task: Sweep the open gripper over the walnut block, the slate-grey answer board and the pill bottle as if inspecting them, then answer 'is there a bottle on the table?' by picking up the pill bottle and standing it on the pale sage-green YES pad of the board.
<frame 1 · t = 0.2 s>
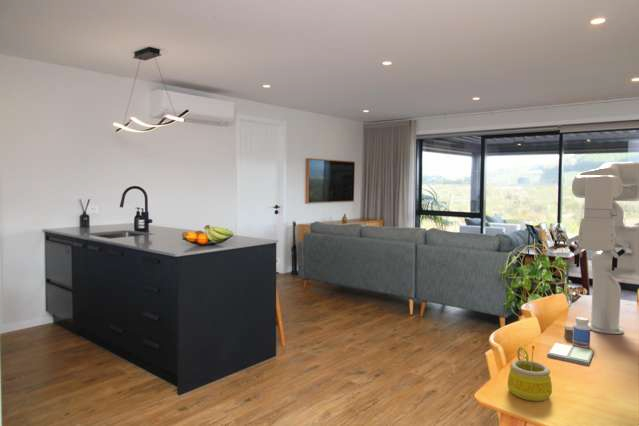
hand: (595, 268, 146), 31 cm above the table, fingers open, 9 cm apart
walnut block: (570, 338, 172), on the table
answer board: (570, 354, 155), on the table
pill bottle: (581, 345, 164), on the table
yellow-green planter pot: (529, 394, 125), on the table
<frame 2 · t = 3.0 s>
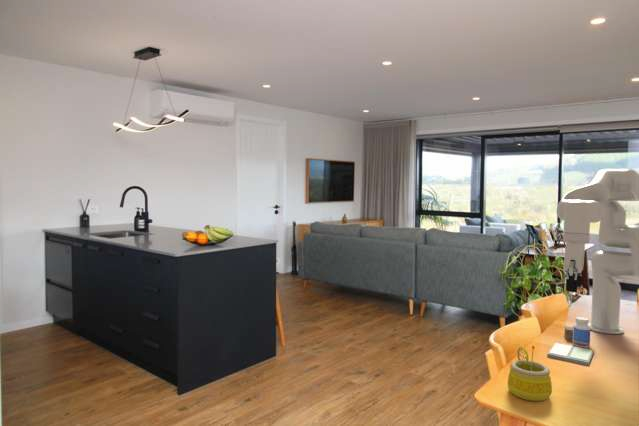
hand: (573, 289, 154), 22 cm above the table, fingers open, 9 cm apart
nothing on the table moved.
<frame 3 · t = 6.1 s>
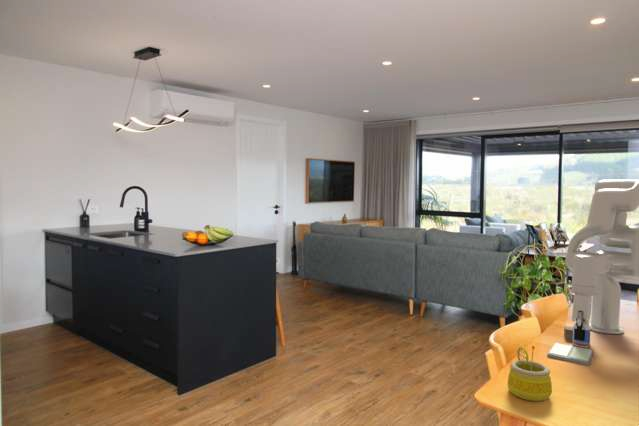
hand: (581, 336, 164), 3 cm above the table, fingers open, 9 cm apart
nothing on the table moved.
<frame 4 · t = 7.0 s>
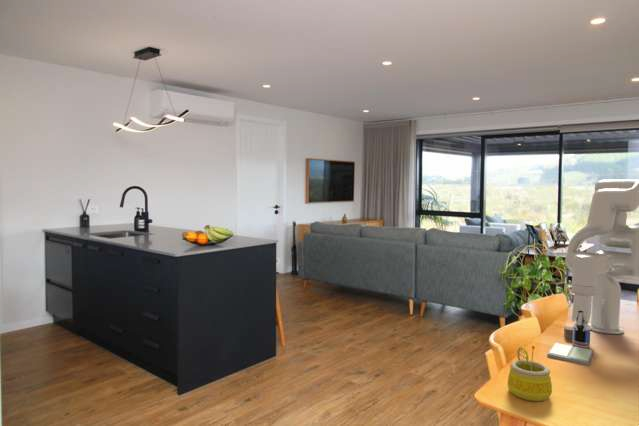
hand: (581, 338, 164), 2 cm above the table, fingers closed on pill bottle, 5 cm apart
pill bottle: (580, 345, 164), on the table, touching gripper
everything else where it was.
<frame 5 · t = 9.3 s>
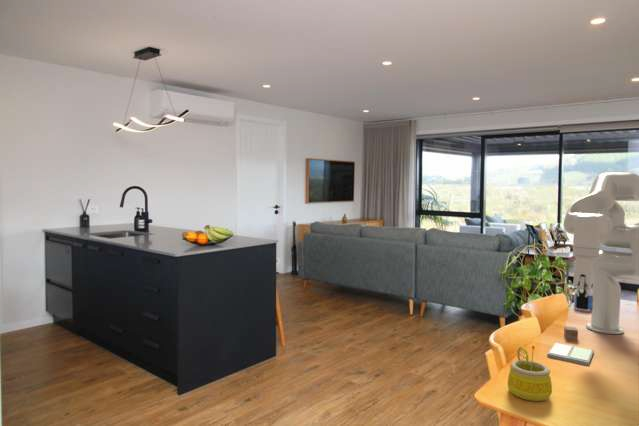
hand: (583, 306, 152), 17 cm above the table, fingers closed on pill bottle, 5 cm apart
pill bottle: (582, 313, 152), point 15 cm above the table, touching gripper
everything else where it was.
when the fingers open (4 cm above the table, at t = 12.0 s): pill bottle stays where it is, resting on answer board.
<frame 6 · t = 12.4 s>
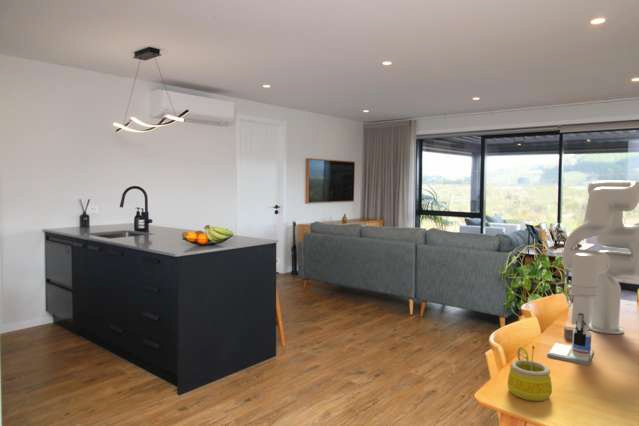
hand: (581, 341, 153), 5 cm above the table, fingers open, 9 cm apart
pill bottle: (581, 353, 153), point 1 cm above the table, touching answer board
everything else where it was.
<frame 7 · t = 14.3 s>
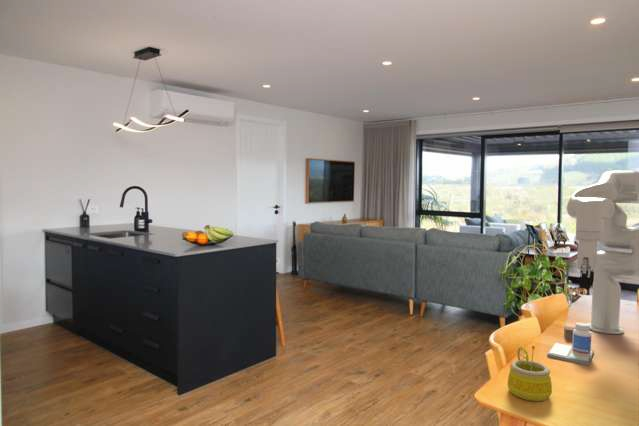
hand: (586, 285, 157), 23 cm above the table, fingers open, 9 cm apart
nothing on the table moved.
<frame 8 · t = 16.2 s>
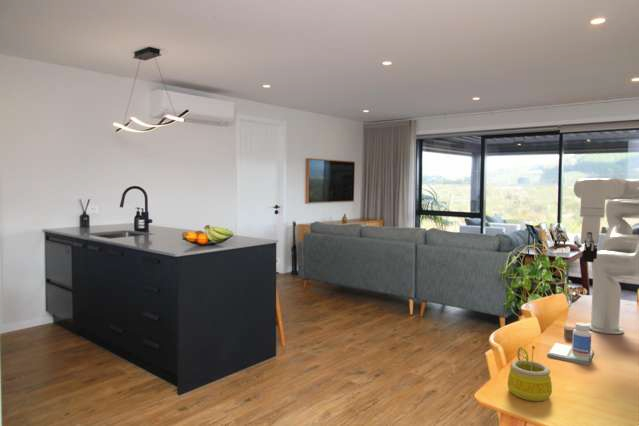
hand: (589, 260, 166), 30 cm above the table, fingers open, 9 cm apart
nothing on the table moved.
at the end: pill bottle inside the target area on the answer board (0.4 cm from its centre), point 1.0 cm above the answer board's base; pill bottle tilted 0°; the gripper is holding nothing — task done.
